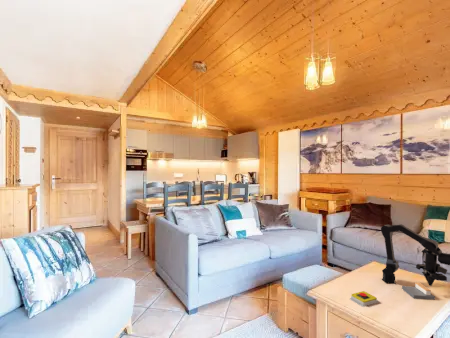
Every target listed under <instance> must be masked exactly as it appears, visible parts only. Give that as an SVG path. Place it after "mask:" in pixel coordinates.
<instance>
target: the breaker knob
mask: <svg viewBox="0 0 450 338" xmlns="http://www.w3.org/2000/svg"><path fill="white" fill-rule="evenodd" d="M414 287H416V288H417V289H419V290H420V291H421V292H423V293H424V294H426V295H431V294H432V292H431V289H430V288H428V287H426V286H425V285H424V284H422V283H421V282H415V283H414Z"/></svg>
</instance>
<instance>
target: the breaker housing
mask: <svg viewBox="0 0 450 338" xmlns="http://www.w3.org/2000/svg"><path fill="white" fill-rule="evenodd" d="M402 289H403V291H404V292H405V293H406V294H408V295H409V296H410V297H411V298H412V299H413V300H414V299H415V300H416V299H417V300H431V301H432V300H433V301H434V300H435V299H436V297H435V295H434V294H432V293H431V295H426V294H424V293H423V292H421V291H420V290H419V289H417V288H416V287H415V286H410V285H409V286H408V285H407V286H406V285H402V286H401V290H402Z"/></svg>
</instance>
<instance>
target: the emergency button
mask: <svg viewBox="0 0 450 338" xmlns="http://www.w3.org/2000/svg"><path fill="white" fill-rule="evenodd" d="M377 298H378V297H376V296H374V295H372V294H371V293H369V292H366V291H365V290H363V291H362V290H361V291H359V292H355V293H351V297H350V298H349V300H350V301H351V302H353V303H355V304H356V303H357V304H356V305H358V306H360V307H363V308H364V307H367V305H368V306H371V305H374V304H377V303H379V302H380V300H378V299H377Z"/></svg>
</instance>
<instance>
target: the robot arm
mask: <svg viewBox="0 0 450 338" xmlns="http://www.w3.org/2000/svg"><path fill="white" fill-rule="evenodd" d="M380 231H381V235H382V236H383V239H384V244H385V250H386V258H387V259H386V263H385V268H383V269H381V270H382V278H381V280H382V281H383V282H384V283H386V284H394V285H396V274H395V272H397V271H398V270H399V268H400V264H399V263H400V262H399V260H396V258H395V251H394V245H393V235H394V232H401V233H402V234H404V235H406V236H407V237H409V238H410V239H413V240H415V241H416V242H417V243H418V244H420V245H421V246H422V247H423V248H424V249H423V250H421V253H424V254H425V255H424V259H425V260H423V263H421V264H420V263H417V264H416V265H415V268H416V269H417V270H421V269H422V270H423V271H422V272H421V273H422V275H423V276H424V278H425V280H426V282H427V284H428V286H430V287H432V286H433V284H434V282H435V281H441V282H447V281H448V277H447V275H446V274H447V272H448V269H447V268H445V267H442V266H441V264H442V265H447V266H450V253H447V252H446V253H445V252H443V251H442V250H441V248H440V247H439V244H438V242H437V241H435V240H433V239H431V238H428V237H425V236H423V235H421V234H419V233H418V232H416V231H414V230H412V229H410V228H408V227H407V226H405V225H404V224H400V223H399V224H393V225H391V224H385V225H383V226H381V227H380ZM439 263H440V264H439Z"/></svg>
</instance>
